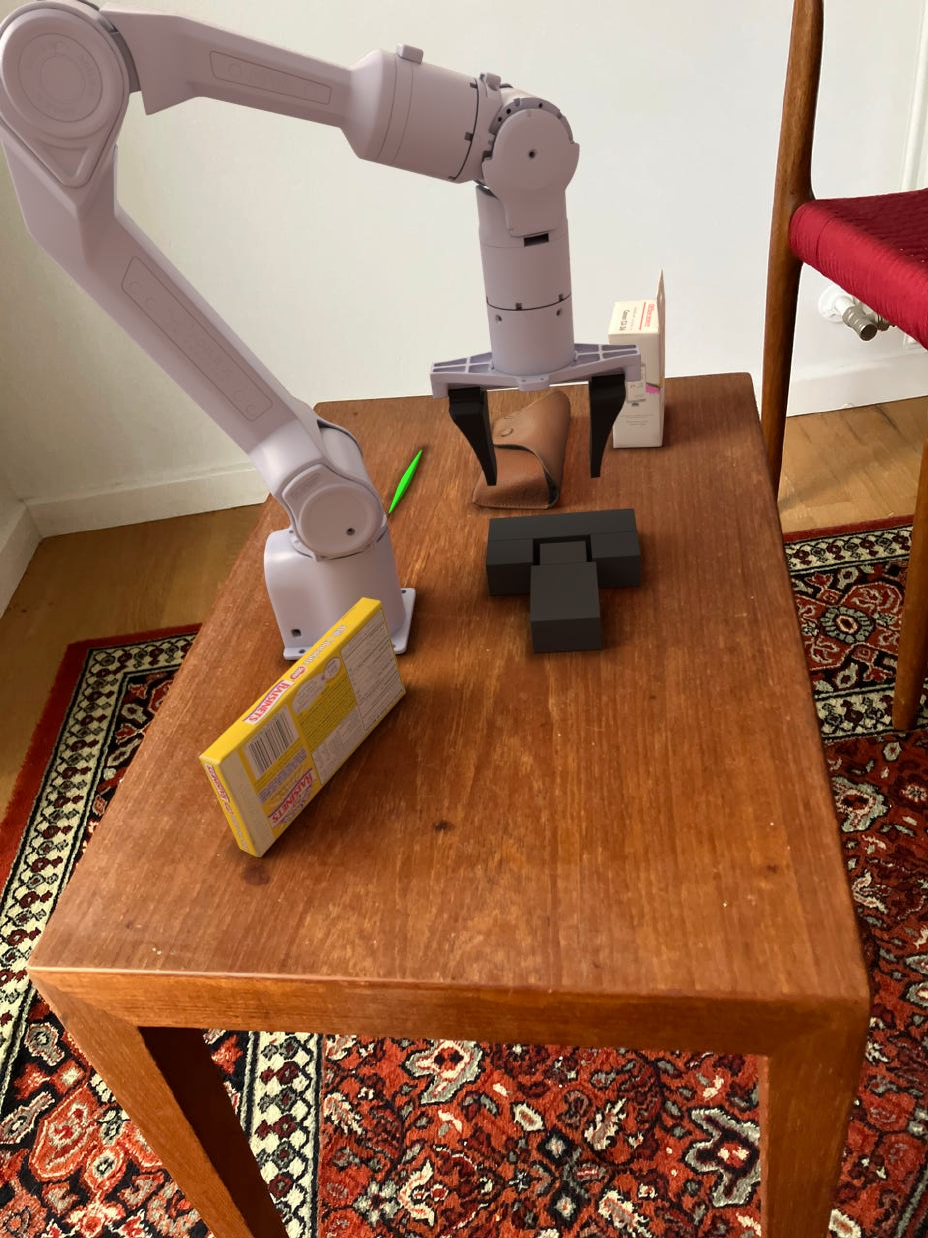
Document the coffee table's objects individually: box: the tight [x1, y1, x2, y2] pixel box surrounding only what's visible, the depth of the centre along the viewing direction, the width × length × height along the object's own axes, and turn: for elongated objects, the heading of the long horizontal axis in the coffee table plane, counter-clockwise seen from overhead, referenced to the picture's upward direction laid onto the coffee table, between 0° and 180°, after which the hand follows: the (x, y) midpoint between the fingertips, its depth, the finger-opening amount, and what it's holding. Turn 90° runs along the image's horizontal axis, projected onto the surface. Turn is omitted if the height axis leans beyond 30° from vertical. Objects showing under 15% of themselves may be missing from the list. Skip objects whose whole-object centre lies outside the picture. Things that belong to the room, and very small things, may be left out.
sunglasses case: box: [471, 387, 572, 510], centre depth 91 cm, size 18×7×7 cm
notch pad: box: [485, 507, 642, 596], centre depth 77 cm, size 12×7×3 cm, turn 86°
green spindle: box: [386, 447, 424, 519], centre depth 92 cm, size 1×14×1 cm, turn 168°
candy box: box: [198, 597, 407, 858], centre depth 60 cm, size 16×2×8 cm, turn 149°
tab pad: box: [529, 541, 603, 654], centre depth 72 cm, size 5×10×3 cm, turn 176°
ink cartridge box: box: [607, 268, 666, 449], centre depth 91 cm, size 9×5×15 cm, turn 168°
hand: (543, 475), depth 71 cm, fingers open, 7 cm apart
